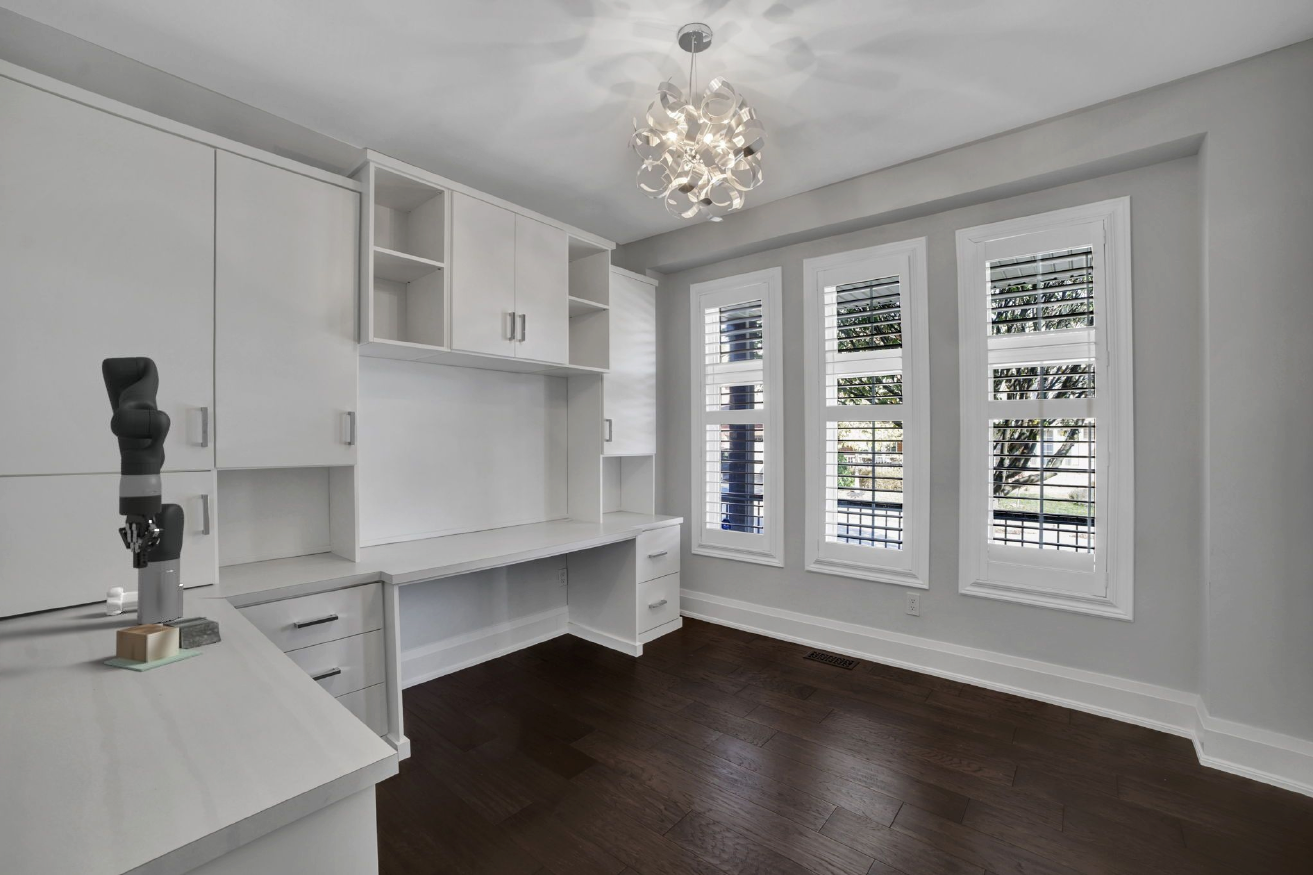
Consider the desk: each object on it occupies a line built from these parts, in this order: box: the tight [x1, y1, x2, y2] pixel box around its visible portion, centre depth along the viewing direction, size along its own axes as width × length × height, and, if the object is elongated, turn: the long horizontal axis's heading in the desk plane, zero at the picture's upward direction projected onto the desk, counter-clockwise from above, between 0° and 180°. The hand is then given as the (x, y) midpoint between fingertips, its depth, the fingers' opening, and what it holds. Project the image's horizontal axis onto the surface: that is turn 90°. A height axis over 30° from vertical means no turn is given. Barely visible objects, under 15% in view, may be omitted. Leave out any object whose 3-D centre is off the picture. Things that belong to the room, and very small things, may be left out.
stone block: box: [162, 616, 222, 650], centre depth 148 cm, size 9×14×5 cm, turn 54°
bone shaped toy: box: [105, 586, 138, 616], centre depth 179 cm, size 15×9×8 cm, turn 127°
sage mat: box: [103, 648, 203, 672], centre depth 135 cm, size 12×14×1 cm
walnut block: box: [115, 624, 179, 663], centre depth 136 cm, size 6×6×12 cm
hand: (140, 567), depth 138 cm, fingers closed
